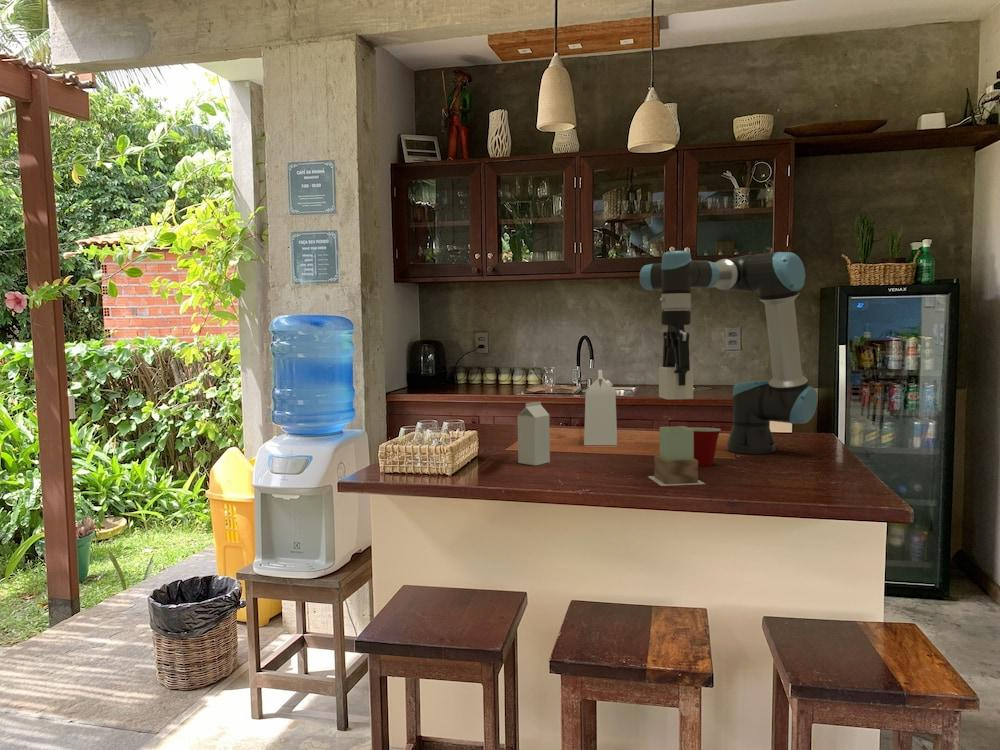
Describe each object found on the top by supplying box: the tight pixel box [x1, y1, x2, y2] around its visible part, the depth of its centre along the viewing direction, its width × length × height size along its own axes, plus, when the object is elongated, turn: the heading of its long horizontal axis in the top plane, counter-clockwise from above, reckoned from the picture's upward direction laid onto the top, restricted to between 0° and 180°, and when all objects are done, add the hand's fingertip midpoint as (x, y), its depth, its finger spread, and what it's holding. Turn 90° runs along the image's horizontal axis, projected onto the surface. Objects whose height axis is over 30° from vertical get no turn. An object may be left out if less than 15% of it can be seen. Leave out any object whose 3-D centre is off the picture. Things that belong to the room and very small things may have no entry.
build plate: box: [647, 475, 706, 487], centre depth 206 cm, size 12×12×1 cm
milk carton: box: [517, 401, 551, 466], centre depth 238 cm, size 7×7×19 cm
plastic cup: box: [689, 427, 722, 467], centre depth 227 cm, size 11×11×12 cm
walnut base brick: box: [653, 454, 699, 484], centre depth 206 cm, size 9×9×6 cm
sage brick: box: [659, 425, 694, 461], centre depth 206 cm, size 7×7×8 cm
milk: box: [583, 369, 618, 446], centre depth 272 cm, size 12×12×26 cm
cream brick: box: [658, 366, 694, 401], centre depth 204 cm, size 7×7×8 cm
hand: (675, 396), depth 205 cm, fingers closed on cream brick, 7 cm apart
